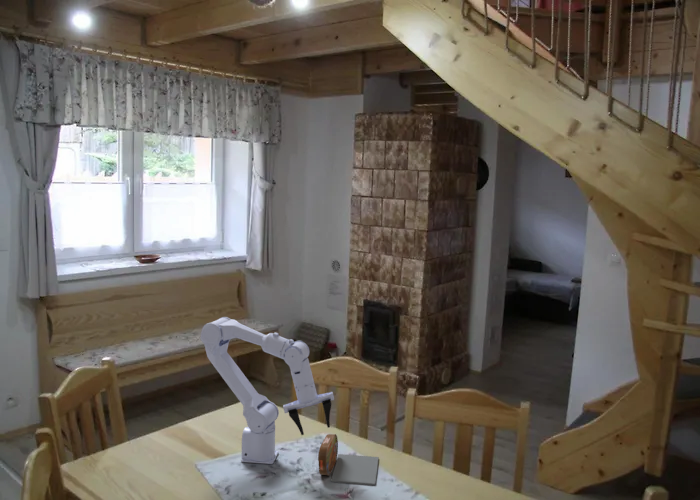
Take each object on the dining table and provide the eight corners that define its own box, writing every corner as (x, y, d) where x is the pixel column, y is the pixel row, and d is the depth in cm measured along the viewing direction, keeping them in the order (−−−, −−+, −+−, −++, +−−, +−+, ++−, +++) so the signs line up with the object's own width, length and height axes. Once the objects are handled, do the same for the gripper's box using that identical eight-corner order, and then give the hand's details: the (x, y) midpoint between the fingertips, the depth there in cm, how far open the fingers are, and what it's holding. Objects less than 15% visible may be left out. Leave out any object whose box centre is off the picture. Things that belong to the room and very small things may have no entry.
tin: (327, 481, 164) (327, 451, 163) (316, 479, 164) (316, 450, 163) (338, 456, 178) (339, 429, 178) (328, 455, 179) (329, 428, 178)
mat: (331, 481, 163) (331, 480, 163) (338, 455, 179) (338, 454, 179) (375, 485, 162) (375, 483, 162) (378, 458, 178) (378, 457, 178)
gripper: (279, 394, 165) (291, 441, 166) (330, 380, 167) (341, 427, 168) (279, 388, 172) (290, 433, 173) (328, 375, 174) (339, 420, 175)
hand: (315, 430), depth 171 cm, fingers open, 7 cm apart
